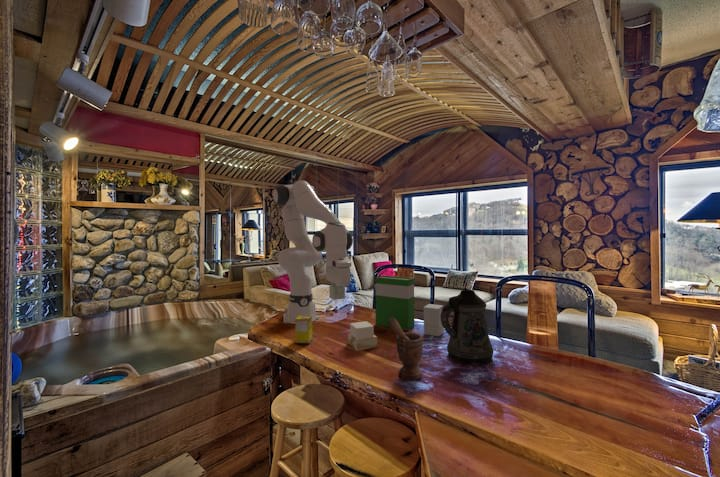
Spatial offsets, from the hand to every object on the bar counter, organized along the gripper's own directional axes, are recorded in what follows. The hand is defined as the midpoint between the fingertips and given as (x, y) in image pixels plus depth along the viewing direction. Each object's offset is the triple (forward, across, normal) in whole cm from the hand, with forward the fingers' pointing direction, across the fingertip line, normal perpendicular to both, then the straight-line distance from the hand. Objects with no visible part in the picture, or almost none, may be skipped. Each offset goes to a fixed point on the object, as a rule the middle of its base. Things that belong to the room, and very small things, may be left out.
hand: (337, 294), depth 133 cm
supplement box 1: (+22, -9, -12) cm, 26 cm away
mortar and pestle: (+22, +37, +10) cm, 44 cm away
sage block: (+2, 0, 0) cm, 2 cm away
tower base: (+22, +5, +9) cm, 24 cm away
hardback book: (+22, -12, +35) cm, 43 cm away
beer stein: (+22, +34, +39) cm, 56 cm away
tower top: (+17, +5, +9) cm, 20 cm away
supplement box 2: (+22, +6, +45) cm, 50 cm away
